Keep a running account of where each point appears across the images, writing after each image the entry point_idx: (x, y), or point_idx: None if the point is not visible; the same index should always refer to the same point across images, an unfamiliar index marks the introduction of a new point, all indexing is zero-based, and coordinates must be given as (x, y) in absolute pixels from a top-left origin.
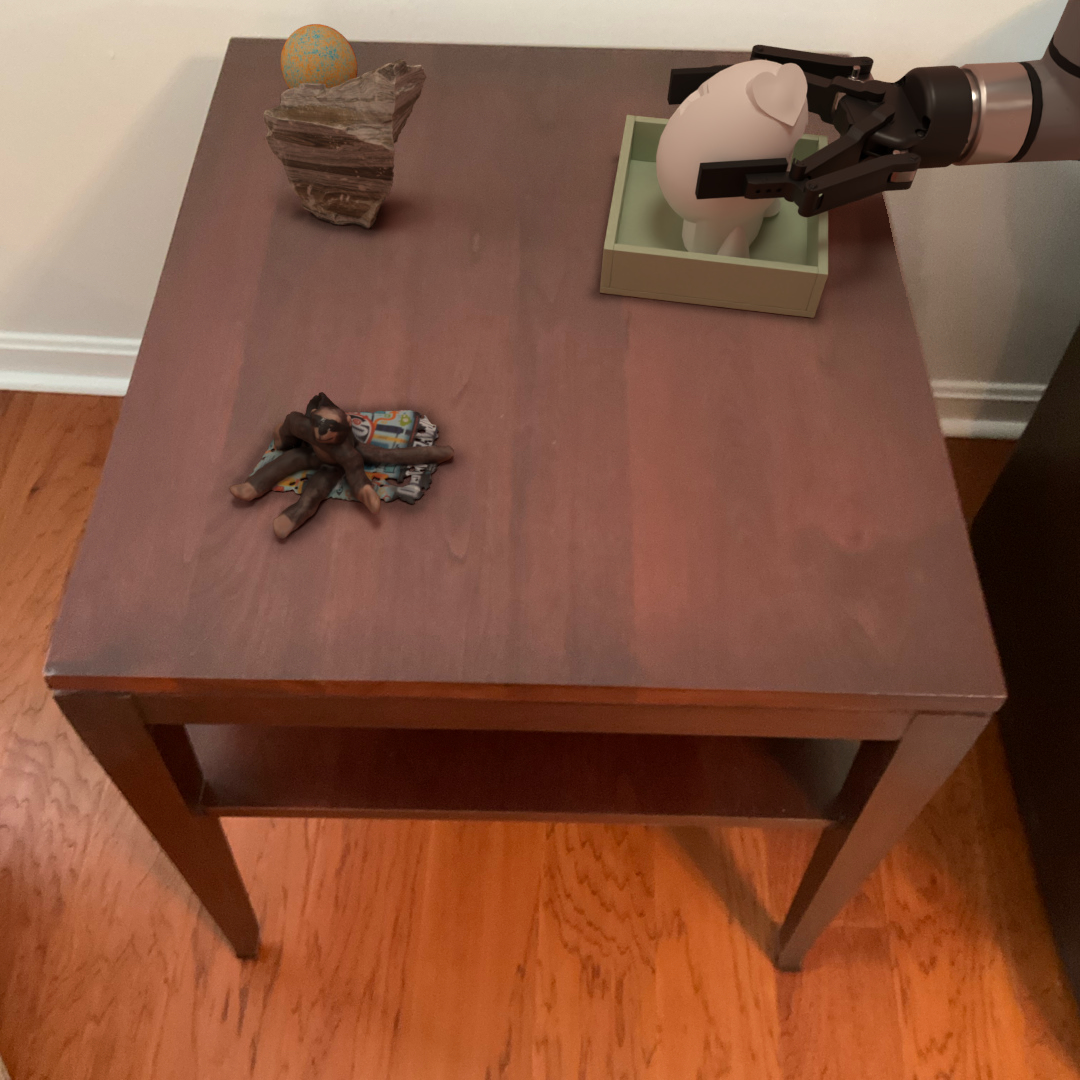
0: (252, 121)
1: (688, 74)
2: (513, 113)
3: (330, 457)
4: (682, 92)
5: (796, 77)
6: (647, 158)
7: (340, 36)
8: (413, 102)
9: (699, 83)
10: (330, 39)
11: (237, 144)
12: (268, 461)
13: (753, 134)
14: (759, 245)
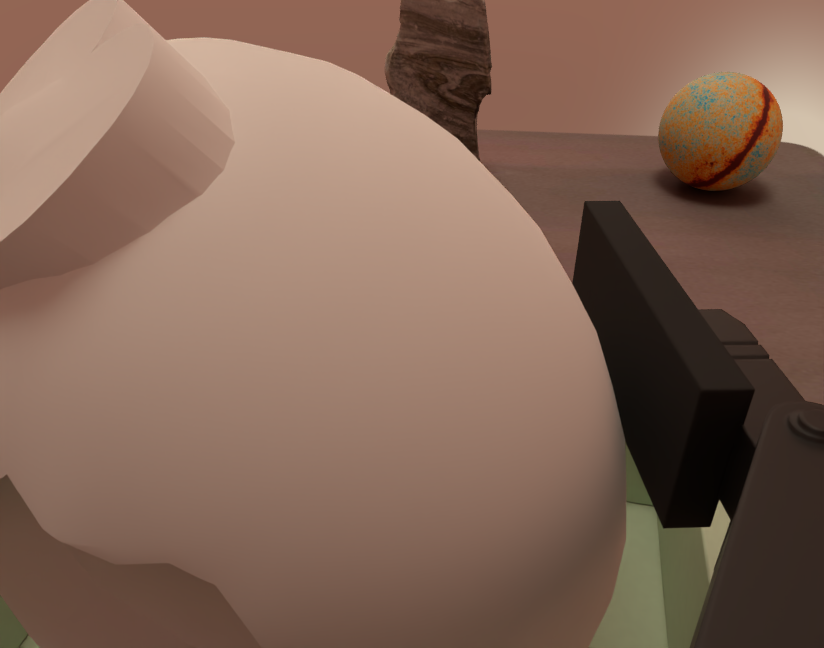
0: (632, 150)
1: (599, 230)
2: (780, 345)
3: None
4: (585, 292)
5: (76, 128)
6: (660, 535)
7: (750, 100)
8: (459, 38)
9: (607, 294)
10: (727, 89)
11: (581, 145)
12: None
13: None
14: None
